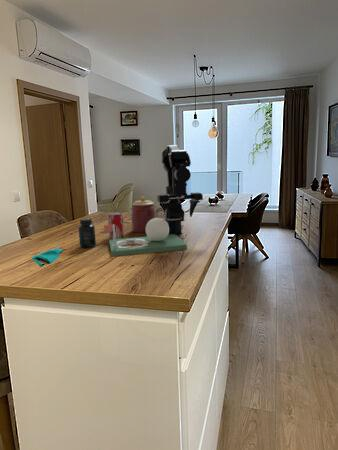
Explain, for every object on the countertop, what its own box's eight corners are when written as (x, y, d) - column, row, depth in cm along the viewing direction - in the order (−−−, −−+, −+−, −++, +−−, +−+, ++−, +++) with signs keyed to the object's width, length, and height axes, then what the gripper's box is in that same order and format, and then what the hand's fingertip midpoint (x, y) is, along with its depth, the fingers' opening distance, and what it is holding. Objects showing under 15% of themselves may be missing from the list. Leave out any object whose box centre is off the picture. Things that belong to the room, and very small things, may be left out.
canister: (145, 234, 165) (143, 198, 162) (126, 231, 173) (124, 197, 170) (161, 229, 176) (160, 195, 172) (143, 227, 183) (141, 194, 180)
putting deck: (175, 238, 155) (174, 212, 152) (187, 249, 135) (186, 220, 133) (104, 244, 148) (102, 217, 146) (106, 257, 129) (104, 226, 126)
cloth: (48, 249, 145) (47, 244, 145) (78, 249, 143) (77, 244, 143) (12, 269, 120) (11, 263, 119) (48, 269, 118) (48, 263, 118)
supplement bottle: (99, 245, 148) (97, 218, 145) (90, 249, 141) (88, 221, 139) (85, 244, 150) (83, 217, 147) (76, 248, 144) (74, 220, 141)
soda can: (121, 240, 155) (120, 214, 152) (107, 240, 156) (105, 214, 154) (126, 236, 162) (125, 212, 159) (112, 236, 163) (111, 212, 161)
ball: (166, 237, 148) (166, 215, 146) (171, 242, 139) (171, 219, 137) (144, 239, 146) (143, 216, 144) (148, 244, 137) (146, 220, 135)
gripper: (194, 178, 150) (195, 213, 153) (154, 180, 146) (155, 216, 149) (202, 180, 140) (203, 217, 143) (159, 182, 136) (160, 220, 139)
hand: (180, 217), depth 144 cm, fingers open, 9 cm apart
